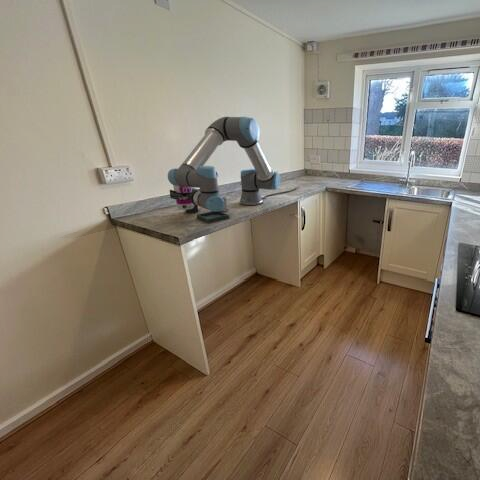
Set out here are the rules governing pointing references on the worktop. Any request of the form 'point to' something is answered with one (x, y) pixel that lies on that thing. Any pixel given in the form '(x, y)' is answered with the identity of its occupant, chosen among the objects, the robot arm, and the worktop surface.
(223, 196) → the medicine box
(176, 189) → the supplement can
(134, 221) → the worktop surface
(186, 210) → the coffee cup
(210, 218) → the base pad
